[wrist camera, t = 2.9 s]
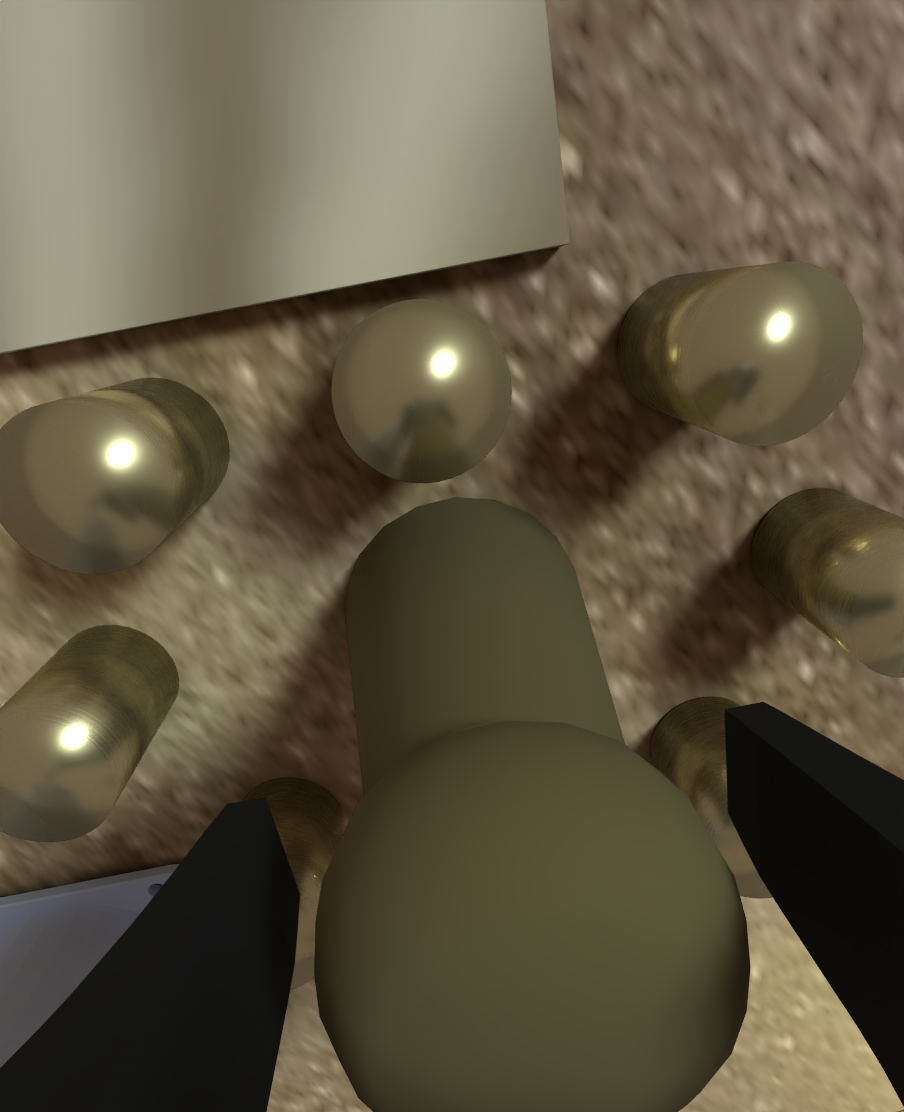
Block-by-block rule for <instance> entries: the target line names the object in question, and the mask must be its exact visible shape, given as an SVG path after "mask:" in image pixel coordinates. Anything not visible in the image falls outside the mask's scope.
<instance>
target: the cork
mask: <svg viewBox="0 0 904 1112" xmlns="http://www.w3.org/2000/svg"><path fill="white" fill-rule="evenodd" d="M345 623H346V633H347V642H348V652H349V661H350V671H351V680H352V690H353V699H354V709H355V718H356V727H357V737H358V746H359V756H360V765H361V775H362V784H363V794H364V796H363V797H362V799H361V800H360V801H359V802H358V804H357V806H356V808H355V810H354V813H353V815H352V817H351V819H350V821H349V823H348V825H347V827H346V830H345V832H344V834H343V836H342V838H341V840H340V842H339V845H338V847H337V849H336V851H335V853H334V855H333V858H332V860H331V862H330V864H329V866H328V868H327V871H326V873H325V875H324V877H323V879H322V884H321V890H320V896H319V902H318V908H317V914H316V921H315V957H314V975H315V983H316V991H317V999H318V1007H319V1015H320V1018H321V1021H322V1023H323V1025H324V1027H325V1029H326V1032H327V1034H328V1036H329V1038H330V1041H331V1043H332V1045H333V1047H334V1050H335V1052H336V1054H337V1056H338V1058H339V1061H340V1063H341V1065H342V1067H343V1068H344V1070H345V1072H346V1074H347V1076H348V1078H349V1080H350V1082H351V1084H352V1086H353V1088H354V1090H355V1092H356V1094H357V1096H358V1098H359V1099H360V1100H361V1101H362V1102H363V1103H364V1104H366V1105H367V1106H368V1107H369V1108H370V1109H371V1110H372V1111H373V1112H678V1111H679V1110H681V1109H682V1108H683V1107H685V1106H686V1105H687V1104H688V1103H689V1102H691V1101H692V1100H693V1099H694V1098H695V1097H696V1096H697V1095H698V1094H699V1093H700V1092H701V1091H702V1089H703V1088H704V1087H705V1086H706V1085H707V1083H708V1082H709V1081H710V1080H711V1078H712V1077H713V1076H714V1075H715V1073H716V1072H717V1071H718V1070H719V1068H720V1067H721V1066H722V1065H723V1064H724V1062H725V1061H726V1060H727V1059H728V1057H729V1056H730V1055H731V1054H732V1051H733V1048H734V1045H735V1042H736V1040H737V1037H738V1034H739V1031H740V1028H741V1025H742V1023H743V1020H744V1017H745V1014H746V1011H747V1000H748V989H749V977H750V957H749V946H748V934H747V922H746V917H745V913H744V910H743V906H742V902H741V898H740V895H739V891H738V887H737V884H736V880H735V876H734V874H733V873H732V871H731V869H730V868H729V866H728V864H727V862H726V861H725V859H724V857H723V856H722V854H721V852H720V850H719V849H718V847H717V845H716V844H715V842H714V840H713V838H712V837H711V835H710V833H709V832H708V830H707V828H706V827H705V825H704V823H703V822H702V820H701V818H700V817H699V815H698V813H697V812H696V810H695V809H694V807H693V805H692V804H691V802H690V800H689V799H688V797H687V796H686V795H685V794H684V793H683V792H682V791H681V790H680V789H679V788H678V787H676V786H675V785H674V784H673V783H672V782H671V781H670V780H669V779H668V778H667V777H665V776H664V775H663V774H662V773H661V772H660V771H659V770H657V769H656V768H655V767H654V766H652V765H651V764H650V763H648V762H647V761H646V760H644V759H643V758H642V757H640V756H639V755H638V754H637V753H635V752H634V751H633V750H631V749H630V748H629V747H627V746H626V745H625V742H624V739H623V735H622V732H621V728H620V725H619V721H618V718H617V714H616V711H615V708H614V704H613V701H612V697H611V694H610V690H609V687H608V683H607V680H606V676H605V673H604V670H603V666H602V663H601V659H600V656H599V652H598V649H597V645H596V642H595V638H594V635H593V632H592V628H591V625H590V621H589V618H588V614H587V611H586V607H585V604H584V600H583V597H582V593H581V590H580V587H579V583H578V580H577V576H576V573H575V569H574V567H573V565H572V563H571V561H570V560H569V558H568V556H567V554H566V553H565V551H564V549H563V547H562V546H561V544H560V542H559V540H558V539H557V537H556V536H555V535H553V534H552V533H551V532H550V531H549V530H548V529H546V528H545V527H544V526H543V525H542V524H541V523H539V522H538V521H537V520H536V519H535V518H534V517H532V516H531V515H530V514H528V513H526V512H523V511H521V510H518V509H516V508H513V507H511V506H508V505H506V504H503V503H501V502H498V501H496V500H487V499H472V498H458V497H455V498H451V499H447V500H443V501H438V502H434V503H430V504H426V505H422V506H417V507H416V508H414V509H412V510H411V511H409V512H407V513H406V514H404V515H402V516H401V517H399V518H397V519H396V520H394V521H392V522H391V523H389V524H387V525H386V526H384V527H383V528H382V530H381V531H380V532H379V533H378V534H377V535H376V537H375V538H374V539H373V540H372V541H371V542H370V543H369V545H368V546H367V547H366V548H365V549H364V550H363V551H362V553H361V554H360V555H359V558H358V560H357V563H356V565H355V568H354V570H353V573H352V575H351V578H350V580H349V583H348V585H347V590H346V617H345Z"/></svg>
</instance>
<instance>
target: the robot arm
mask: <svg viewBox="0 0 904 1112" xmlns="http://www.w3.org/2000/svg"><path fill="white" fill-rule="evenodd" d="M724 710H725V741H726V773H727V804H728V814H729V816H730V818H731V820H732V823H733V825H734V827H735V829H736V831H737V833H738V835H739V837H740V839H741V841H742V843H743V845H744V847H745V849H746V851H747V853H748V855H749V857H750V859H751V861H752V863H753V865H754V867H755V869H756V871H757V872H758V874H759V876H760V878H761V879H762V881H763V883H764V884H765V886H766V887H767V889H768V890H769V892H770V894H771V895H772V897H773V898H774V900H775V901H776V903H777V904H778V906H779V907H780V909H781V911H782V912H783V914H784V915H785V917H786V918H787V920H788V921H789V923H790V924H791V926H792V928H793V929H794V931H795V932H796V934H797V935H798V937H799V938H800V940H801V941H802V943H803V944H804V946H805V947H806V949H807V950H808V952H809V953H810V955H811V957H812V958H813V960H814V961H815V963H816V964H817V966H818V967H819V969H820V970H821V972H822V973H823V975H824V976H825V978H826V979H827V981H828V982H829V984H830V985H831V987H832V989H833V990H834V992H835V993H836V995H837V996H838V998H839V999H840V1001H841V1002H842V1004H843V1005H844V1007H845V1008H846V1010H847V1011H848V1013H849V1014H850V1016H851V1017H852V1019H853V1021H854V1022H855V1024H856V1025H857V1027H858V1028H859V1030H860V1031H861V1033H862V1035H863V1036H864V1038H865V1040H866V1041H867V1043H868V1045H869V1046H870V1048H871V1049H872V1051H873V1053H874V1054H875V1056H876V1058H877V1059H878V1061H879V1063H880V1064H881V1066H882V1068H883V1069H884V1071H885V1073H886V1075H887V1077H888V1079H889V1080H890V1082H891V1084H892V1086H893V1088H894V1090H895V1091H896V1093H897V1095H898V1097H899V1099H900V1101H901V1102H902V1104H903V1106H904V780H903V779H901V778H899V777H897V776H895V775H893V774H891V773H890V772H888V771H886V770H884V769H882V768H880V767H879V766H877V765H875V764H873V763H871V762H870V761H868V760H866V759H864V758H862V757H861V756H859V755H857V754H855V753H853V752H852V751H850V750H848V749H846V748H845V747H843V746H841V745H839V744H838V743H836V742H834V741H832V740H831V739H829V738H827V737H825V736H824V735H822V734H820V733H818V732H817V731H815V730H813V729H811V728H810V727H808V726H806V725H804V724H803V723H801V722H799V721H797V720H796V719H794V718H792V717H790V716H789V715H787V714H785V713H783V712H781V711H780V710H778V709H776V708H774V707H772V706H770V705H768V704H767V703H765V702H760V703H755V704H750V705H745V706H739V707H734V708H729V709H724ZM157 884H162V885H163V886H159V885H157ZM299 905H300V892H299V889H298V887H297V884H296V881H295V878H294V875H293V873H292V870H291V867H290V864H289V861H288V859H287V856H286V853H285V850H284V847H283V845H282V842H281V839H280V836H279V833H278V830H277V828H276V825H275V822H274V819H273V816H272V814H271V811H270V808H269V805H268V802H267V800H266V797H262V798H257V799H252V800H247V801H242V802H236V803H231V804H227V805H226V806H225V807H224V809H223V810H222V811H221V812H220V813H219V815H218V816H217V817H216V818H215V819H214V821H213V822H212V823H211V825H210V826H209V827H208V828H207V830H206V831H205V832H204V833H203V835H202V836H201V837H200V839H199V840H198V841H197V842H196V844H195V845H194V846H193V848H192V849H191V850H190V851H189V853H188V854H187V855H186V857H185V858H184V859H183V860H182V862H181V863H180V864H172V865H167V866H162V867H157V868H152V869H146V870H141V871H136V872H131V873H126V874H120V875H115V876H110V877H105V878H100V879H95V880H89V881H84V882H79V883H74V884H69V885H63V886H58V887H53V888H48V889H43V890H38V891H32V892H27V893H22V894H17V895H12V896H6V897H1V898H0V1112H266V1111H267V1106H268V1101H269V1096H270V1091H271V1086H272V1081H273V1075H274V1070H275V1065H276V1060H277V1055H278V1050H279V1045H280V1040H281V1035H282V1030H283V1025H284V1019H285V1014H286V1009H287V1004H288V998H289V993H290V988H291V983H292V977H293V971H294V966H295V957H296V945H297V934H298V920H299Z"/></svg>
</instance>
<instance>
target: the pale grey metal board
mask: <svg viewBox="0 0 904 1112" xmlns="http://www.w3.org/2000/svg"><path fill="white" fill-rule="evenodd" d="M569 243H570V240H569V230H568V220H567V211H566V201H565V191H564V182H563V172H562V162H561V153H560V143H559V133H558V123H557V114H556V104H555V94H554V85H553V75H552V65H551V55H550V46H549V36H548V26H547V17H546V7H545V0H0V354H6V353H11V352H16V351H21V350H26V349H32V348H37V347H42V346H47V345H52V344H58V343H63V342H68V341H73V340H78V339H83V338H89V337H94V336H99V335H104V334H109V333H115V332H120V331H125V330H130V329H135V328H141V327H146V326H151V325H156V324H161V323H167V322H172V321H177V320H182V319H187V318H193V317H198V316H203V315H208V314H213V313H219V312H224V311H229V310H234V309H239V308H244V307H250V306H255V305H260V304H265V303H270V302H276V301H281V300H286V299H291V298H296V297H302V296H307V295H312V294H317V293H322V292H328V291H333V290H338V289H343V288H348V287H354V286H359V285H364V284H369V283H374V282H380V281H385V280H390V279H395V278H400V277H405V276H411V275H416V274H421V273H426V272H431V271H437V270H442V269H447V268H452V267H457V266H463V265H468V264H473V263H478V262H483V261H489V260H494V259H499V258H504V257H509V256H515V255H520V254H525V253H530V252H535V251H541V250H546V249H551V248H556V247H561V246H564V245H566V244H569Z"/></svg>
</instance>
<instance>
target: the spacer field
mask: <svg viewBox="0 0 904 1112" xmlns="http://www.w3.org/2000/svg"><path fill="white" fill-rule="evenodd" d="M862 343H863V329H862V323H861V317H860V313H859V310H858V307H857V305H856V302H855V300H854V298H853V296H852V295H851V293H850V292H849V290H848V289H847V287H846V286H845V285H844V284H843V283H842V282H841V281H840V280H839V279H838V278H837V277H836V276H834V275H833V274H832V273H830V272H829V271H827V270H825V269H823V268H821V267H819V266H816V265H813V264H810V263H804V262H793V261H787V262H778V263H770V264H762V265H754V266H746V267H738V268H729V269H721V270H713V271H705V272H697V273H688V274H680V275H676V276H672V277H669V278H666V279H664V280H662V281H660V282H658V283H656V284H655V285H653V286H652V287H650V288H649V289H648V290H646V291H645V292H644V293H643V294H642V295H641V296H640V297H639V298H638V299H637V300H636V302H635V303H634V304H633V305H632V307H631V308H630V310H629V312H628V313H627V315H626V317H625V319H624V321H623V324H622V327H621V330H620V333H619V338H618V345H617V360H618V367H619V370H620V374H621V376H622V379H623V381H624V383H625V385H626V386H627V388H628V390H629V391H630V392H631V393H632V394H633V396H634V397H635V398H637V399H638V400H639V401H640V402H641V403H643V404H644V405H646V406H648V407H650V408H652V409H655V410H657V411H660V412H662V413H664V414H667V415H669V416H672V417H674V418H677V419H679V420H682V421H684V422H687V423H689V424H692V425H694V426H697V427H699V428H702V429H704V430H707V431H709V432H712V433H714V434H717V435H719V436H721V437H724V438H726V439H729V440H731V441H734V442H737V443H741V444H744V445H751V446H769V445H776V444H780V443H784V442H788V441H790V440H793V439H795V438H798V437H800V436H801V435H803V434H805V433H807V432H809V431H810V430H812V429H813V428H815V427H816V426H817V425H819V424H820V423H821V422H822V421H823V420H825V419H826V418H827V417H828V416H829V415H830V414H831V413H832V412H833V411H834V409H835V408H836V407H837V406H838V404H839V403H840V402H841V401H842V399H843V398H844V396H845V394H846V393H847V391H848V390H849V388H850V386H851V384H852V381H853V379H854V377H855V375H856V372H857V369H858V366H859V362H860V357H861V353H862ZM331 391H332V404H333V410H334V414H335V417H336V421H337V424H338V426H339V428H340V430H341V433H342V435H343V436H344V438H345V440H346V441H347V443H348V444H349V446H350V447H351V448H352V449H353V451H354V452H355V453H356V454H357V455H358V456H359V457H360V458H361V459H362V460H363V461H364V462H365V463H367V464H368V465H369V466H371V467H372V468H373V469H375V470H377V471H379V472H380V473H382V474H384V475H386V476H389V477H391V478H394V479H397V480H401V481H405V482H412V483H432V482H440V481H443V480H447V479H451V478H453V477H456V476H458V475H460V474H462V473H464V472H466V471H468V470H469V469H471V468H472V467H474V466H475V465H476V464H478V463H479V462H480V461H481V460H482V459H483V458H484V457H485V456H486V455H487V454H488V453H489V452H490V451H491V450H492V448H493V447H494V446H495V444H496V443H497V441H498V439H499V438H500V436H501V434H502V432H503V430H504V428H505V425H506V422H507V419H508V416H509V412H510V406H511V395H512V388H511V377H510V372H509V367H508V364H507V361H506V359H505V356H504V353H503V351H502V349H501V347H500V345H499V344H498V342H497V341H496V339H495V338H494V336H493V335H492V333H491V332H490V331H489V330H488V329H487V328H486V327H485V326H484V325H483V324H482V323H481V322H480V321H479V320H478V319H476V318H475V317H474V316H472V315H471V314H469V313H468V312H466V311H465V310H463V309H461V308H459V307H456V306H454V305H452V304H449V303H445V302H442V301H437V300H431V299H412V300H404V301H400V302H396V303H393V304H390V305H388V306H385V307H383V308H381V309H379V310H377V311H376V312H374V313H372V314H371V315H369V316H368V317H367V318H366V319H364V320H363V321H362V322H361V323H360V324H359V325H358V326H357V327H356V328H355V329H354V330H353V331H352V332H351V334H350V335H349V337H348V338H347V340H346V341H345V343H344V345H343V346H342V348H341V350H340V352H339V355H338V357H337V360H336V363H335V367H334V371H333V376H332V387H331ZM229 452H230V450H229V441H228V437H227V433H226V430H225V428H224V425H223V423H222V421H221V419H220V417H219V416H218V414H217V413H216V411H215V410H214V409H213V407H212V406H211V405H210V404H209V403H208V402H207V401H206V400H205V399H204V398H203V397H202V396H201V395H199V394H198V393H196V392H195V391H194V390H192V389H190V388H188V387H187V386H185V385H183V384H180V383H178V382H175V381H171V380H168V379H162V378H140V379H136V380H132V381H128V382H124V383H121V384H117V385H113V386H109V387H105V388H102V389H98V390H94V391H90V392H87V393H83V394H79V395H75V396H72V397H68V398H64V399H60V400H57V401H53V402H49V403H45V404H41V405H38V406H34V407H31V408H29V409H27V410H24V411H22V412H21V413H19V414H17V415H16V416H14V417H13V418H11V419H10V420H9V421H8V422H7V423H6V424H5V425H4V426H3V427H2V428H1V429H0V522H1V524H2V525H3V526H4V528H5V529H6V531H7V532H8V533H9V534H10V535H11V536H12V537H13V539H14V540H15V541H16V542H18V543H19V544H20V545H21V546H22V547H23V548H24V549H26V550H27V551H28V552H30V553H31V554H32V555H34V556H36V557H37V558H39V559H41V560H42V561H44V562H46V563H49V564H51V565H53V566H55V567H58V568H61V569H64V570H67V571H72V572H76V573H84V574H105V573H113V572H116V571H120V570H124V569H126V568H129V567H131V566H133V565H135V564H137V563H138V562H140V561H142V560H143V559H144V558H146V557H147V556H148V555H149V554H151V553H152V552H153V551H154V550H155V549H156V548H157V547H158V546H159V545H160V544H161V543H162V542H163V541H164V540H165V539H166V538H167V537H168V536H169V535H170V534H171V533H172V532H173V531H174V530H175V529H176V528H177V527H178V526H180V525H181V524H182V523H183V522H184V521H185V520H186V519H187V518H188V517H189V516H190V515H191V514H192V513H193V512H194V511H195V510H196V509H197V508H198V507H199V506H200V505H201V504H202V503H203V502H204V501H205V500H206V499H207V498H208V497H209V496H210V495H212V493H213V492H214V491H215V490H216V489H217V488H218V487H219V485H220V484H221V482H222V480H223V478H224V476H225V474H226V471H227V468H228V463H229ZM751 564H752V568H753V571H754V573H755V576H756V577H757V579H758V581H759V582H760V583H761V584H762V585H763V586H764V587H765V588H766V589H767V590H769V591H770V592H771V593H772V594H774V595H775V596H776V597H778V598H779V599H780V600H781V601H783V602H784V603H785V604H787V605H788V606H789V607H791V608H792V609H793V610H794V611H796V612H797V613H798V614H800V615H801V616H802V617H803V618H805V619H806V620H807V621H809V622H810V623H811V624H813V625H814V626H815V627H816V628H818V629H819V630H820V631H822V632H823V633H824V634H825V635H827V636H828V637H829V638H831V639H832V640H833V641H834V642H836V643H837V644H838V645H840V646H841V647H842V648H844V649H845V650H846V651H847V652H849V653H850V654H851V655H853V656H854V657H855V658H856V659H858V660H859V661H860V662H862V663H863V664H864V665H866V666H867V667H868V668H870V669H871V670H873V671H875V672H877V673H879V674H882V675H886V676H890V677H898V678H903V677H904V518H902V517H899V516H897V515H894V514H892V513H890V512H887V511H885V510H883V509H880V508H878V507H875V506H873V505H871V504H868V503H866V502H864V501H861V500H859V499H856V498H854V497H852V496H849V495H847V494H844V493H842V492H840V491H837V490H833V489H828V488H813V489H807V490H803V491H800V492H797V493H795V494H793V495H791V496H789V497H787V498H785V499H784V500H782V501H781V502H779V503H778V504H777V505H776V506H775V507H773V508H772V509H771V510H770V511H769V512H768V513H767V515H766V516H765V517H764V519H763V520H762V521H761V523H760V525H759V526H758V528H757V530H756V533H755V535H754V538H753V541H752V546H751ZM178 689H179V677H178V672H177V668H176V666H175V663H174V661H173V659H172V658H171V656H170V655H169V653H168V652H167V651H166V650H165V649H164V647H162V646H161V645H160V644H159V643H158V642H157V641H155V640H154V639H153V638H151V637H150V636H148V635H146V634H144V633H142V632H140V631H138V630H135V629H132V628H128V627H124V626H116V625H103V626H96V627H92V628H89V629H86V630H84V631H82V632H80V633H78V634H76V635H75V636H74V637H72V638H71V639H70V640H69V641H68V642H67V643H66V644H65V645H64V646H63V647H62V648H61V649H60V650H59V651H58V652H57V653H56V654H55V655H54V656H53V657H52V658H51V659H50V660H49V661H48V662H47V663H46V664H45V665H44V666H43V667H42V668H41V669H40V670H39V671H38V672H37V673H36V674H35V675H34V676H33V677H32V678H31V679H30V680H29V681H28V682H26V683H25V684H24V685H23V686H22V687H21V688H20V689H19V690H18V691H17V692H16V693H15V694H14V695H13V696H12V697H11V698H10V699H9V700H8V701H7V702H6V703H5V704H4V705H3V706H2V707H1V708H0V831H2V832H4V833H6V834H9V835H12V836H14V837H17V838H21V839H25V840H31V841H37V842H58V841H66V840H70V839H74V838H77V837H80V836H82V835H85V834H87V833H88V832H90V831H92V830H93V829H95V828H96V827H98V826H99V825H100V824H101V823H102V822H103V821H104V820H105V819H106V817H107V816H108V815H109V813H110V811H111V810H112V808H113V806H114V804H115V803H116V801H117V799H118V798H119V796H120V794H121V792H122V791H123V789H124V787H125V786H126V784H127V782H128V780H129V779H130V777H131V775H132V774H133V772H134V770H135V768H136V767H137V765H138V763H139V762H140V760H141V758H142V756H143V755H144V753H145V751H146V750H147V748H148V746H149V744H150V743H151V741H152V739H153V738H154V736H155V734H156V732H157V731H158V729H159V727H160V726H161V724H162V722H163V720H164V719H165V717H166V715H167V714H168V712H169V710H170V708H171V707H172V705H173V703H174V701H175V699H176V697H177V694H178ZM739 706H740V705H738V704H737V703H735V702H733V701H731V700H728V699H725V698H721V697H702V698H697V699H693V700H690V701H687V702H685V703H683V704H681V705H679V706H677V707H676V708H674V709H673V710H672V711H670V712H669V713H668V714H667V715H666V716H665V717H664V718H663V719H662V720H661V721H660V723H659V724H658V726H657V727H656V729H655V731H654V733H653V736H652V739H651V745H650V753H651V758H652V761H653V763H654V765H655V767H656V769H657V770H659V771H660V772H661V773H662V774H663V775H664V776H665V777H667V778H668V779H669V780H670V781H671V782H672V783H673V784H674V785H675V786H676V787H678V788H679V789H680V790H681V791H682V792H683V793H684V794H685V795H686V796H687V797H688V799H689V800H690V802H691V804H692V805H693V807H694V809H695V810H696V812H697V813H698V815H699V817H700V818H701V820H702V822H703V823H704V825H705V827H706V828H707V830H708V832H709V833H710V835H711V837H712V838H713V840H714V842H715V844H716V845H717V847H718V849H719V850H720V852H721V854H722V856H723V857H724V859H725V861H726V862H727V864H728V866H729V868H730V869H731V871H732V873H733V874H734V876H735V880H736V884H737V887H738V891H739V895H740V896H744V897H749V898H771V897H772V895H771V894H770V892H769V890H768V889H767V887H766V886H765V884H764V883H763V881H762V879H761V878H760V876H759V874H758V872H757V871H756V869H755V867H754V865H753V863H752V861H751V859H750V857H749V855H748V853H747V851H746V849H745V847H744V845H743V843H742V841H741V839H740V837H739V835H738V833H737V831H736V829H735V827H734V825H733V823H732V820H731V818H730V816H729V814H728V804H727V773H726V741H725V710H724V709H729V708H734V707H739ZM262 797H266V800H267V802H268V805H269V808H270V811H271V814H272V816H273V819H274V822H275V825H276V828H277V830H278V833H279V836H280V839H281V842H282V845H283V847H284V850H285V853H286V856H287V859H288V861H289V864H290V867H291V870H292V873H293V875H294V878H295V881H296V884H297V887H298V889H299V892H300V905H299V920H298V934H297V945H296V957H295V966H294V971H293V977H292V983H291V988H290V990H291V989H294V988H297V987H299V986H301V985H303V984H304V983H306V982H308V981H309V980H310V979H312V978H313V977H314V976H315V975H314V957H315V921H316V914H317V908H318V902H319V896H320V890H321V884H322V879H323V877H324V875H325V873H326V871H327V868H328V866H329V864H330V862H331V860H332V858H333V855H334V853H335V851H336V849H337V847H338V845H339V842H340V840H341V837H342V828H343V815H342V811H341V808H340V806H339V804H338V802H337V801H336V799H335V798H334V797H333V796H332V795H331V794H330V793H329V792H328V791H327V790H325V789H324V788H322V787H320V786H319V785H317V784H314V783H312V782H309V781H305V780H301V779H292V778H286V779H277V780H272V781H269V782H266V783H263V784H261V785H259V786H257V787H256V788H254V789H253V790H252V791H250V792H249V793H248V794H247V795H246V796H245V798H244V799H243V800H242V801H247V800H252V799H257V798H262Z"/></svg>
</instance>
